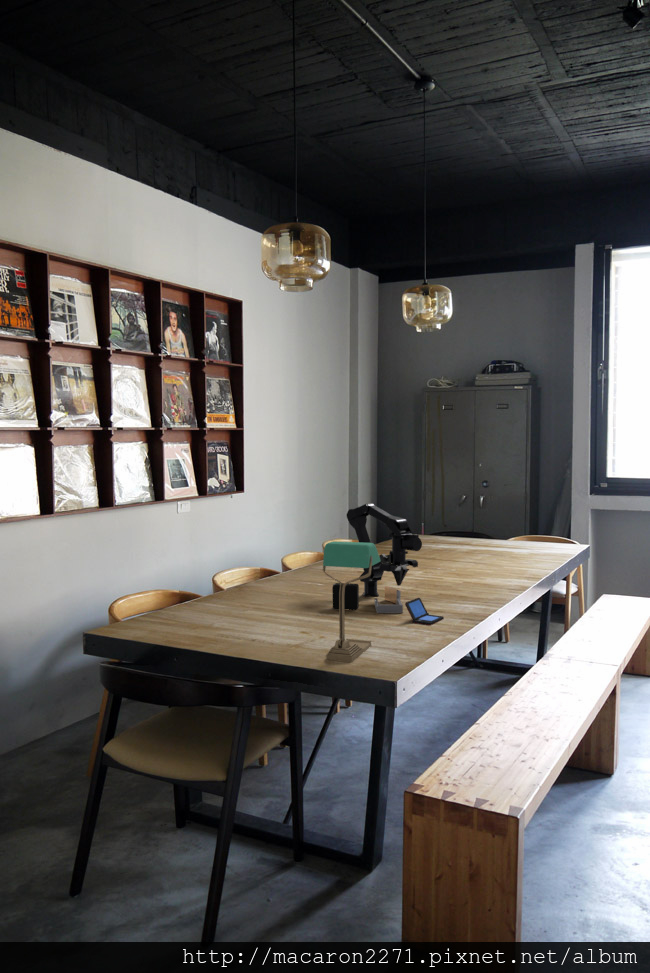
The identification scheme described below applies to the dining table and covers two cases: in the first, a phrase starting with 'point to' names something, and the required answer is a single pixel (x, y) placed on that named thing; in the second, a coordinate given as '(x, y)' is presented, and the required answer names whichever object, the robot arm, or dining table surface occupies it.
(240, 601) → the dining table surface
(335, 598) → the electronic device
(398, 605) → the grey shallow open box
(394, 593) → the rectangular wooden block
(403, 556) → the robot arm
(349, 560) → the banker's lamp
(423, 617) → the handheld game console
